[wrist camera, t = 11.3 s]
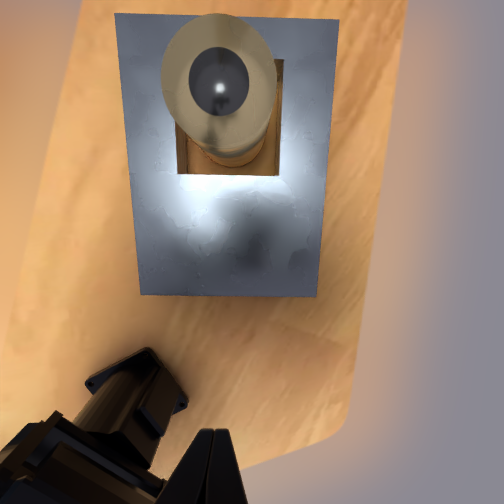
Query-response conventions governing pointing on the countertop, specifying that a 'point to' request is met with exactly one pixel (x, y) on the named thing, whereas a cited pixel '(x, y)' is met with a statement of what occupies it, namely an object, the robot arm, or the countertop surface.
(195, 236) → the jig
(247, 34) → the bushing
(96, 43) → the countertop surface
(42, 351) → the countertop surface
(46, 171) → the countertop surface
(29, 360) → the countertop surface
